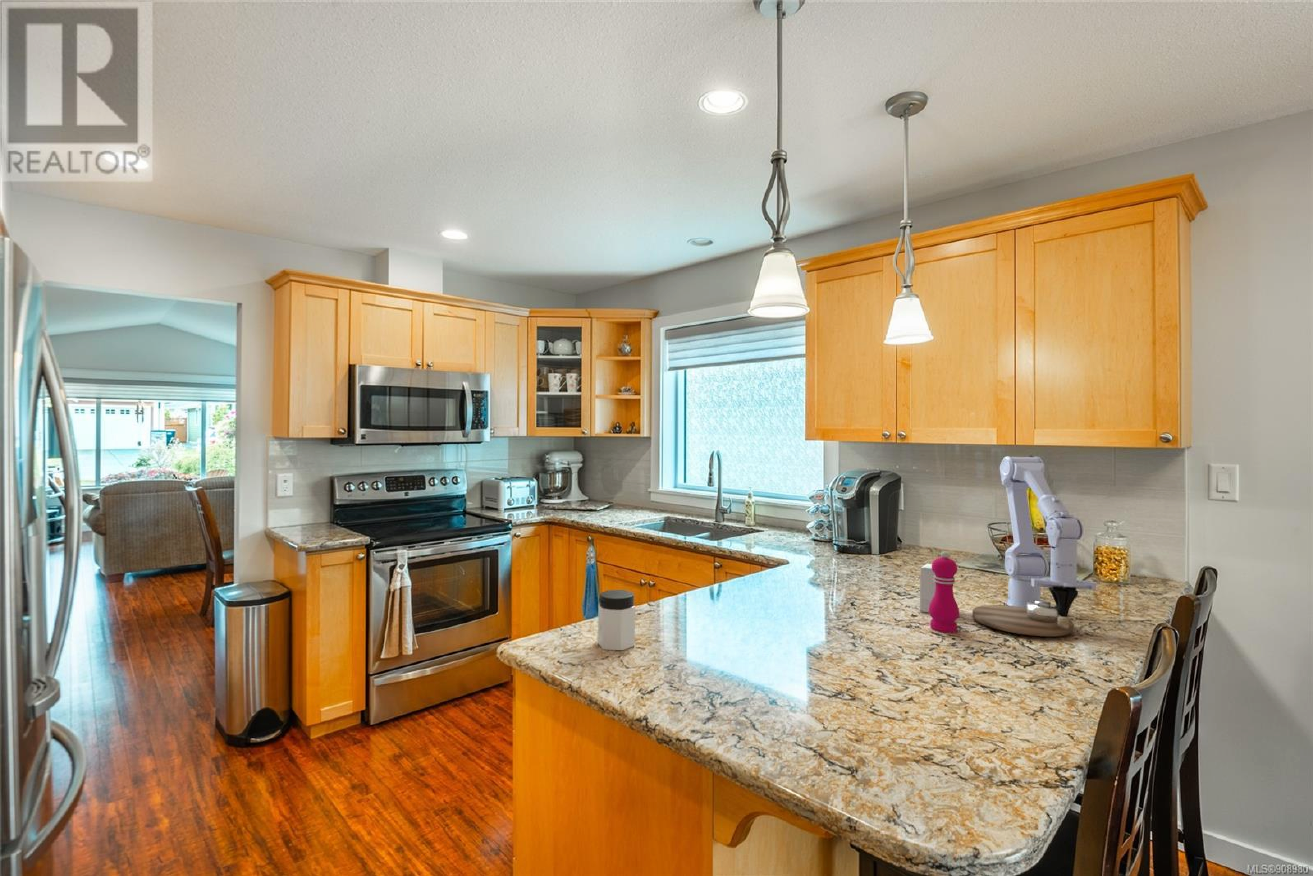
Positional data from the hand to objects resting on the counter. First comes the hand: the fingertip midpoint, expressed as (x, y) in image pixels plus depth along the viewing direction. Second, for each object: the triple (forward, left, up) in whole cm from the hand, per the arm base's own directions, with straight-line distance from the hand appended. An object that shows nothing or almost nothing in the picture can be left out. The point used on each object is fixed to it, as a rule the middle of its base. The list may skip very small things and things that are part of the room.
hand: (1062, 615), depth 160 cm
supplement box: (-9, -29, -3) cm, 30 cm away
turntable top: (0, -10, -3) cm, 10 cm away
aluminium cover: (0, -5, -1) cm, 5 cm away
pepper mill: (+8, -31, -3) cm, 32 cm away
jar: (+39, -110, -3) cm, 117 cm away
